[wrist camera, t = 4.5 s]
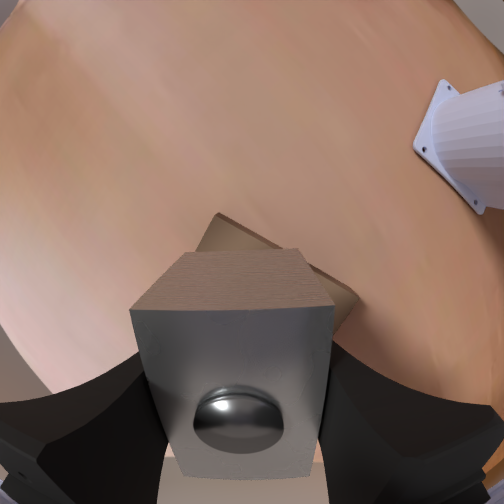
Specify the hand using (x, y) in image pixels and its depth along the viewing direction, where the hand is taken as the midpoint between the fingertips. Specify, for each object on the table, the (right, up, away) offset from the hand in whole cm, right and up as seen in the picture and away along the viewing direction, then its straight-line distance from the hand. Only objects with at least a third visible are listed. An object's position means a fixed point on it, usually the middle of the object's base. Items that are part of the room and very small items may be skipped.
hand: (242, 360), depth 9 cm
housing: (0, +1, +2) cm, 3 cm away
